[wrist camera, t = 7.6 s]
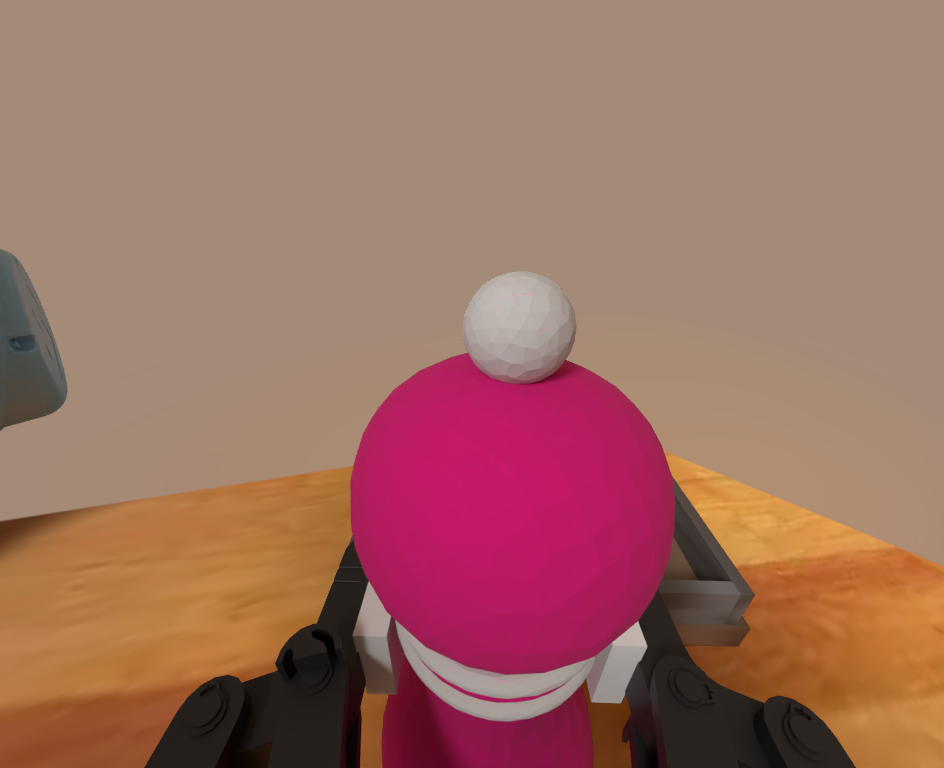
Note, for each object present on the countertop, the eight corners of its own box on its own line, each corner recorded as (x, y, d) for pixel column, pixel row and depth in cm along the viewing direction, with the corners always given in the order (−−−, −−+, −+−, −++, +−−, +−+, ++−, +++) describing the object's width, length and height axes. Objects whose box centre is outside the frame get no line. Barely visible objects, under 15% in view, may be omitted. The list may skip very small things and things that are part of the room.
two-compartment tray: (335, 632, 23) (320, 585, 21) (379, 504, 33) (372, 462, 30) (738, 646, 22) (769, 599, 20) (660, 511, 32) (675, 469, 30)
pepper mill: (493, 635, 19) (525, 239, 10) (609, 797, 14) (917, 289, 5) (364, 745, 15) (211, 258, 6) (460, 1024, 10) (487, 738, 1)
